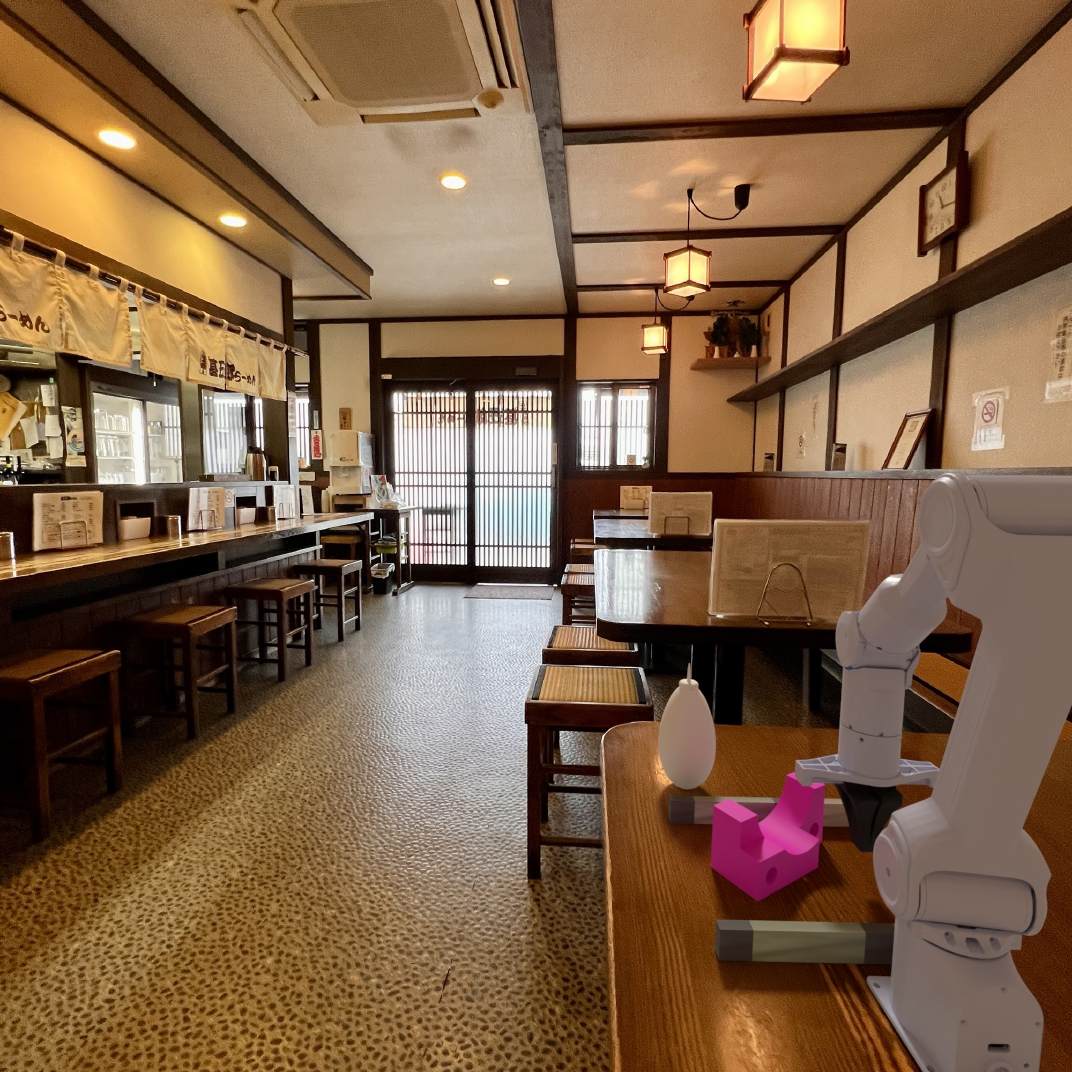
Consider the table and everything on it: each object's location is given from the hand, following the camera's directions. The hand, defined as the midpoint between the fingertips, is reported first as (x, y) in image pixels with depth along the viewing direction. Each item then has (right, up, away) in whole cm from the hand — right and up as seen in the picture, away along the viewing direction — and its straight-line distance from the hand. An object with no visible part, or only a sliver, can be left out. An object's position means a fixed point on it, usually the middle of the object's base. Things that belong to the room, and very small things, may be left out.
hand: (862, 846), depth 63 cm
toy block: (-8, -4, +4) cm, 9 cm away
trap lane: (-7, -4, +1) cm, 8 cm away
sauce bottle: (-14, -2, +20) cm, 24 cm away
